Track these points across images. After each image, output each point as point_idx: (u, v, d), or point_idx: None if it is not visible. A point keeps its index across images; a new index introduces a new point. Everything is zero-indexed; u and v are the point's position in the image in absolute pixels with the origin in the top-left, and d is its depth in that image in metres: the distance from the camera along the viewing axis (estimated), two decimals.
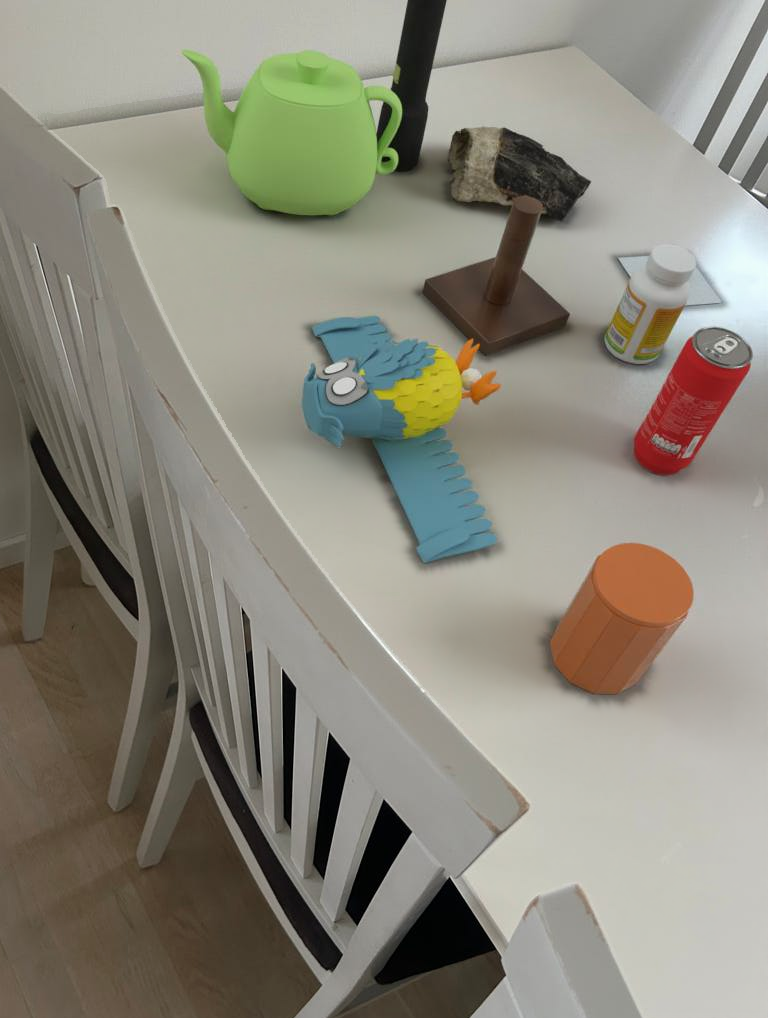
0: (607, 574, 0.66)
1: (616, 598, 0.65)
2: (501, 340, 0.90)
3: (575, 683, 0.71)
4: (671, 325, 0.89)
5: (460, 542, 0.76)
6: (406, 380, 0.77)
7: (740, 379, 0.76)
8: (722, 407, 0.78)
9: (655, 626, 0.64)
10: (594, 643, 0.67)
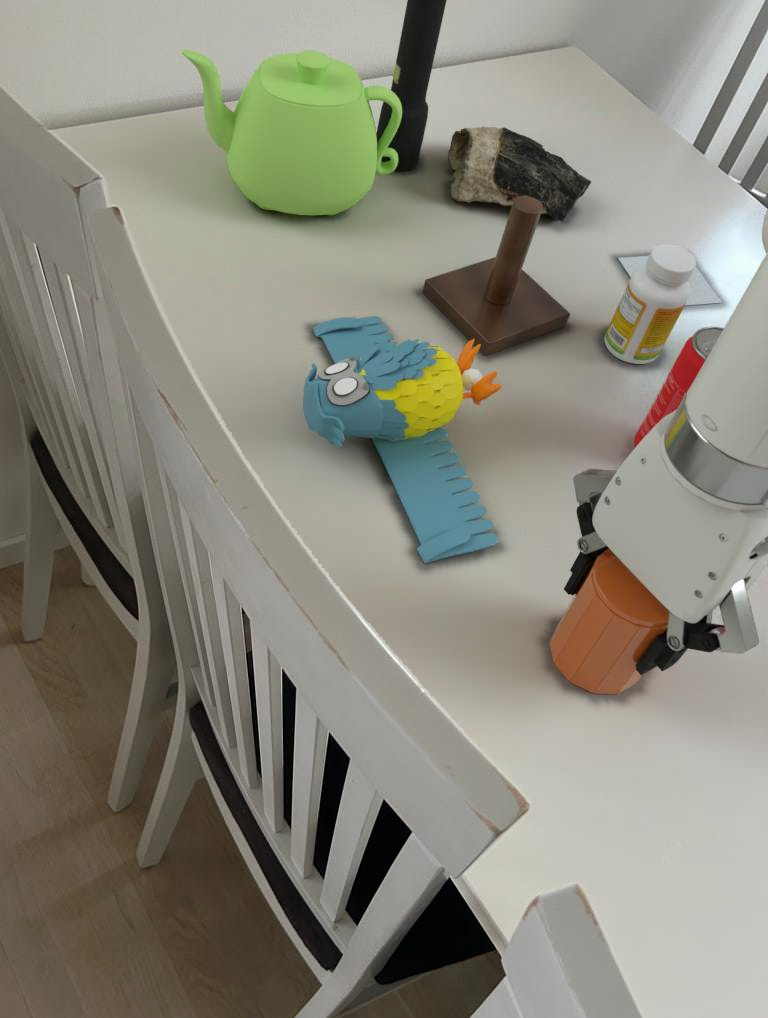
0: (606, 574, 0.66)
1: (616, 598, 0.65)
2: (501, 340, 0.90)
3: (575, 683, 0.71)
4: (671, 325, 0.89)
5: (461, 542, 0.76)
6: (407, 380, 0.77)
7: None
8: None
9: (655, 626, 0.64)
10: (594, 643, 0.67)
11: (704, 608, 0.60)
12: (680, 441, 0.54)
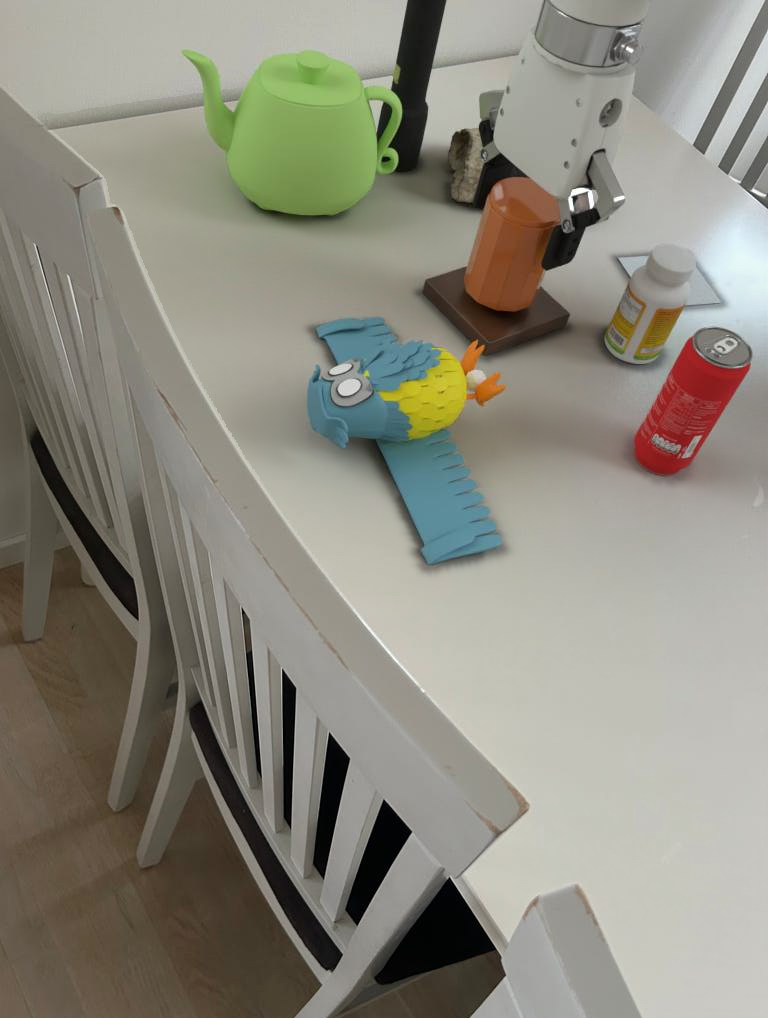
0: (500, 194, 0.85)
1: (506, 207, 0.84)
2: (501, 340, 0.90)
3: (482, 302, 0.91)
4: (671, 325, 0.89)
5: (465, 544, 0.76)
6: (411, 381, 0.77)
7: (740, 379, 0.76)
8: (722, 407, 0.78)
9: (535, 226, 0.84)
10: (492, 254, 0.87)
11: (572, 177, 0.78)
12: (542, 21, 0.73)
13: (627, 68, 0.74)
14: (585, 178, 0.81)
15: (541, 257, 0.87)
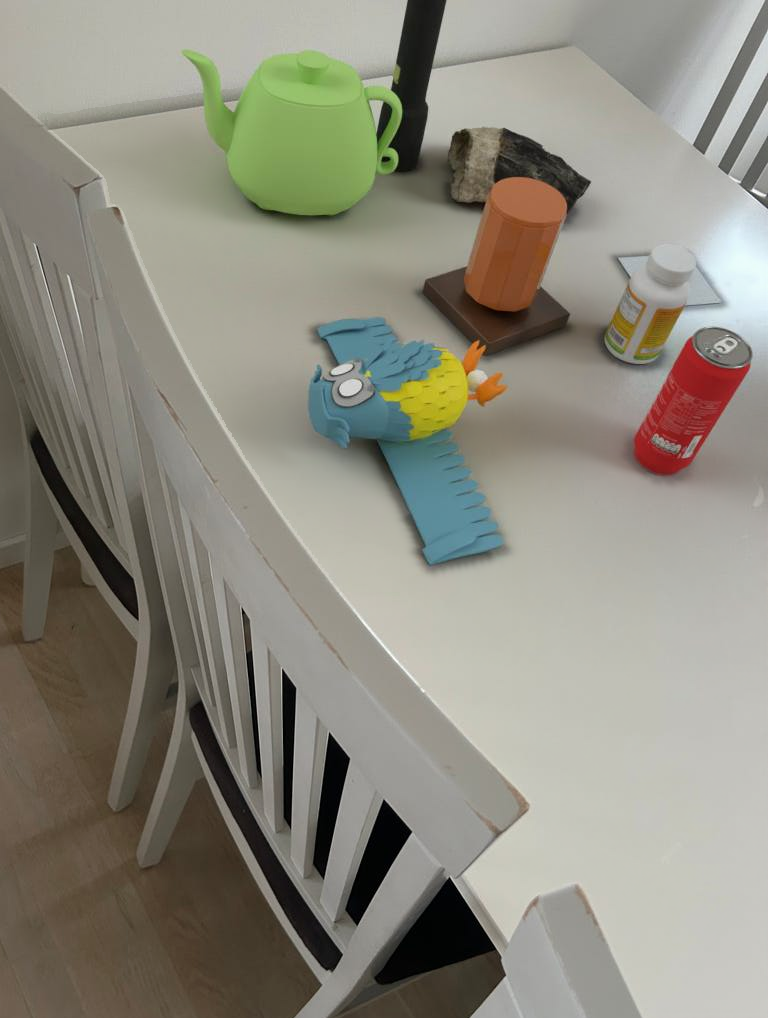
0: (500, 194, 0.85)
1: (506, 207, 0.84)
2: (501, 340, 0.90)
3: (482, 302, 0.91)
4: (671, 325, 0.89)
5: (466, 544, 0.76)
6: (412, 382, 0.77)
7: (740, 379, 0.76)
8: (722, 407, 0.78)
9: (535, 226, 0.84)
10: (492, 254, 0.87)
11: None
12: None
13: None
14: None
15: (541, 257, 0.87)
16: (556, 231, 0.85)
